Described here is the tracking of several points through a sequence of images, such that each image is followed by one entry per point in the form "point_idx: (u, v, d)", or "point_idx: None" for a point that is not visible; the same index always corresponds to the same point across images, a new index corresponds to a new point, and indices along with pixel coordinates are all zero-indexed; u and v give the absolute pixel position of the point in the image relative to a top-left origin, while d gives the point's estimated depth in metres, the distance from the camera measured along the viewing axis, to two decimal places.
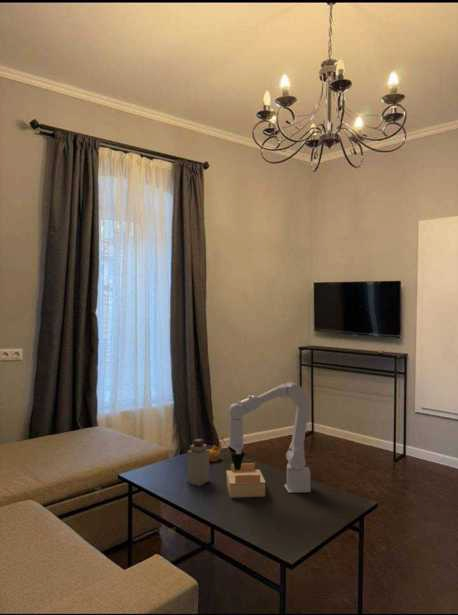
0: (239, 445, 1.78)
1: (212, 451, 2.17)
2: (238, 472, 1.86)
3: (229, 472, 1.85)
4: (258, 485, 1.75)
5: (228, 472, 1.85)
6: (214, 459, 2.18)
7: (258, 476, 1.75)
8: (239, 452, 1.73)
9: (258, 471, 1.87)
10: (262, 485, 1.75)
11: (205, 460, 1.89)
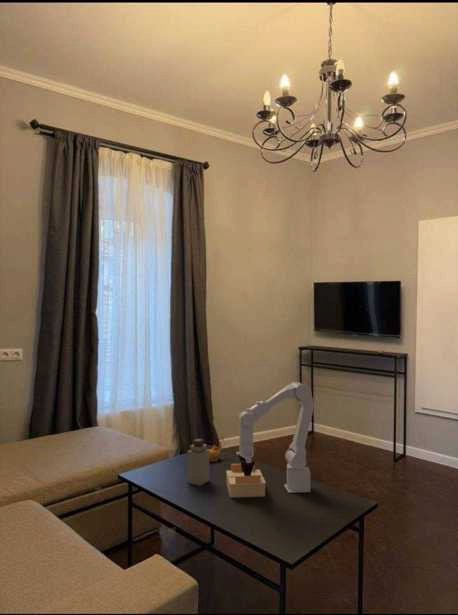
0: (249, 454, 1.76)
1: (212, 451, 2.17)
2: (238, 472, 1.86)
3: (229, 472, 1.85)
4: (258, 485, 1.75)
5: (228, 472, 1.85)
6: (214, 459, 2.18)
7: (258, 477, 1.74)
8: (249, 461, 1.72)
9: (258, 471, 1.87)
10: (262, 485, 1.75)
11: (205, 460, 1.89)
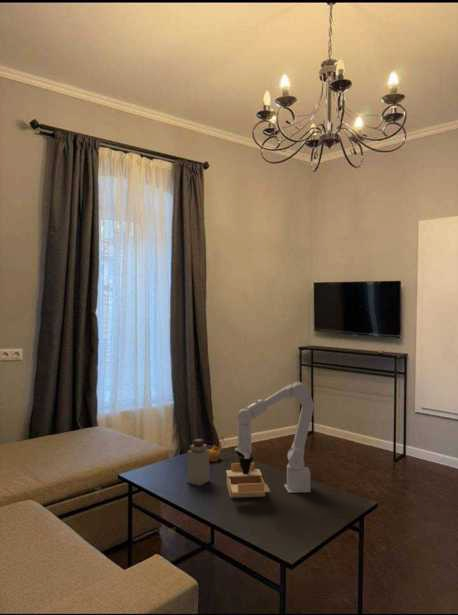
0: (247, 450, 1.81)
1: (212, 451, 2.17)
2: (238, 471, 1.87)
3: (229, 472, 1.86)
4: None
5: (228, 472, 1.86)
6: (214, 459, 2.18)
7: (262, 484, 1.66)
8: (248, 457, 1.77)
9: (258, 471, 1.87)
10: None
11: (205, 460, 1.89)
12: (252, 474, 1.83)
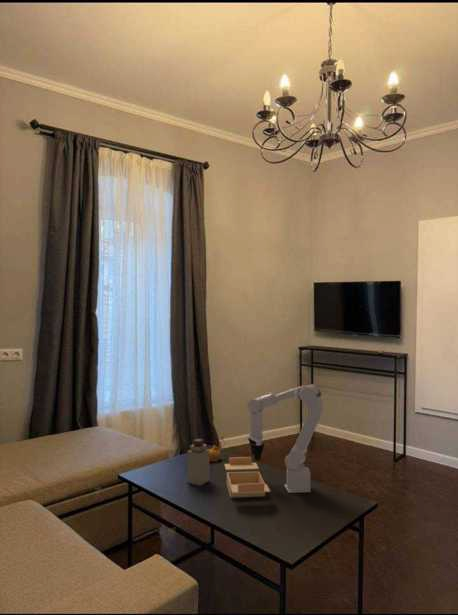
0: (259, 437, 1.89)
1: (212, 451, 2.17)
2: (236, 465, 1.95)
3: (227, 465, 1.94)
4: None
5: (226, 465, 1.94)
6: (214, 459, 2.18)
7: (262, 484, 1.66)
8: (259, 444, 1.84)
9: (255, 464, 1.95)
10: None
11: (205, 460, 1.89)
12: (249, 467, 1.91)
